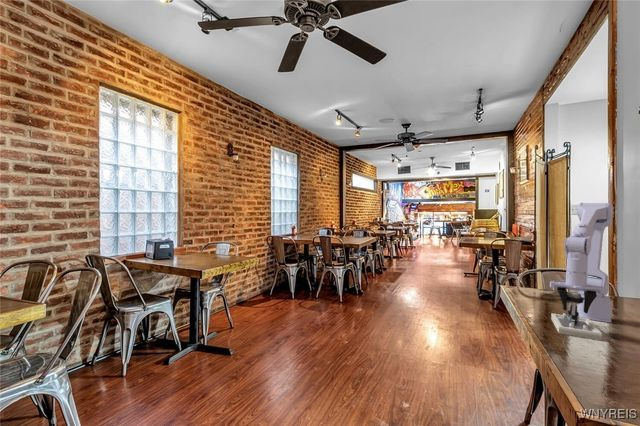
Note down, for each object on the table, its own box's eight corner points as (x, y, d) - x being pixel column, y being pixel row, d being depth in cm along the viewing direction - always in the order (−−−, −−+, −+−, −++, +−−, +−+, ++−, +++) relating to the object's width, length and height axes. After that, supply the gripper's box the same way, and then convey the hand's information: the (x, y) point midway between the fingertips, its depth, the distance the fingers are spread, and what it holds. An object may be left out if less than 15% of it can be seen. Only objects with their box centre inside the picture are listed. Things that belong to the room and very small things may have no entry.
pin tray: (588, 324, 116) (589, 315, 116) (601, 340, 102) (602, 330, 102) (551, 319, 121) (551, 310, 121) (558, 333, 107) (559, 323, 107)
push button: (582, 327, 109) (584, 298, 108) (562, 323, 112) (565, 294, 111) (582, 322, 114) (584, 294, 113) (563, 318, 117) (565, 290, 117)
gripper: (552, 271, 111) (551, 310, 111) (607, 276, 104) (605, 318, 105) (549, 268, 117) (548, 305, 118) (601, 272, 110) (599, 312, 111)
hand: (575, 311), depth 111 cm, fingers closed on push button, 5 cm apart
